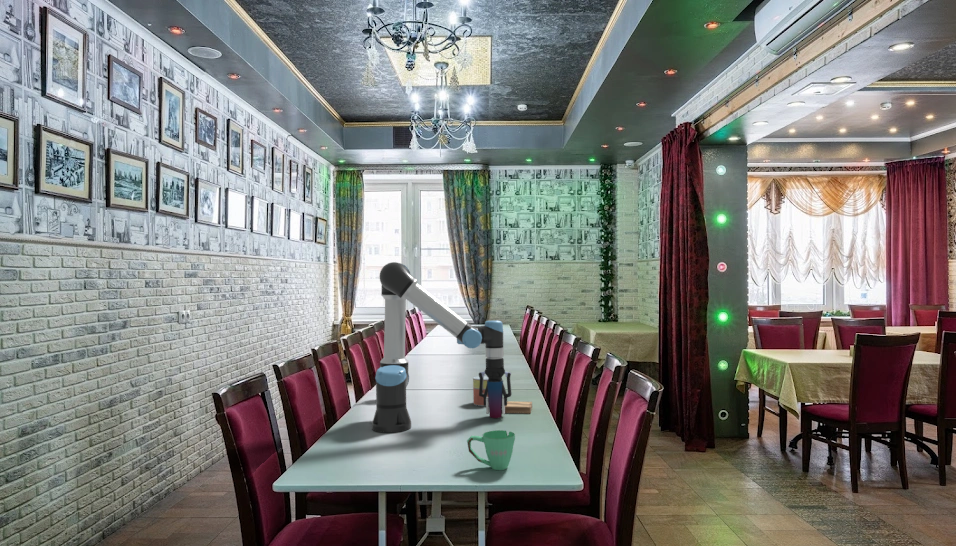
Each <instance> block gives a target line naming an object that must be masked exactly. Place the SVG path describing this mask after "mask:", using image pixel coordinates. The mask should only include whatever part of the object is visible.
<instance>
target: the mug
mask: <svg viewBox="0 0 956 546" xmlns="http://www.w3.org/2000/svg"><path fill="white" fill-rule="evenodd" d="M515 440H516V433H515V432H514V431H508V432H507V430H500V429H499V430H496V429H495V430H489V431H486V432H484V433H483V434H482V436H479V435H471V436H470V437H469V438H468V439H467V440H466V442H467V450H468V452H469V454H470V455H472V457H474V458H475V460H476V461H478V462H480V463H482V464H484V465H485V466H486V465H487V466H489V467H490V468H491V469H492V470H495V471H504V470H507V469H508V467H509V465H510V462H511V458H512V455H513V451H514V445H515V442H516V441H515ZM472 441H477V442H481V443H483V444H484V449H485V453H486V457H487V459H488V460H487V459H484V458H483V457H480V456H479V455H478V454H477V453H476V452H475V451H474V449H473V448H472Z"/></svg>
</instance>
